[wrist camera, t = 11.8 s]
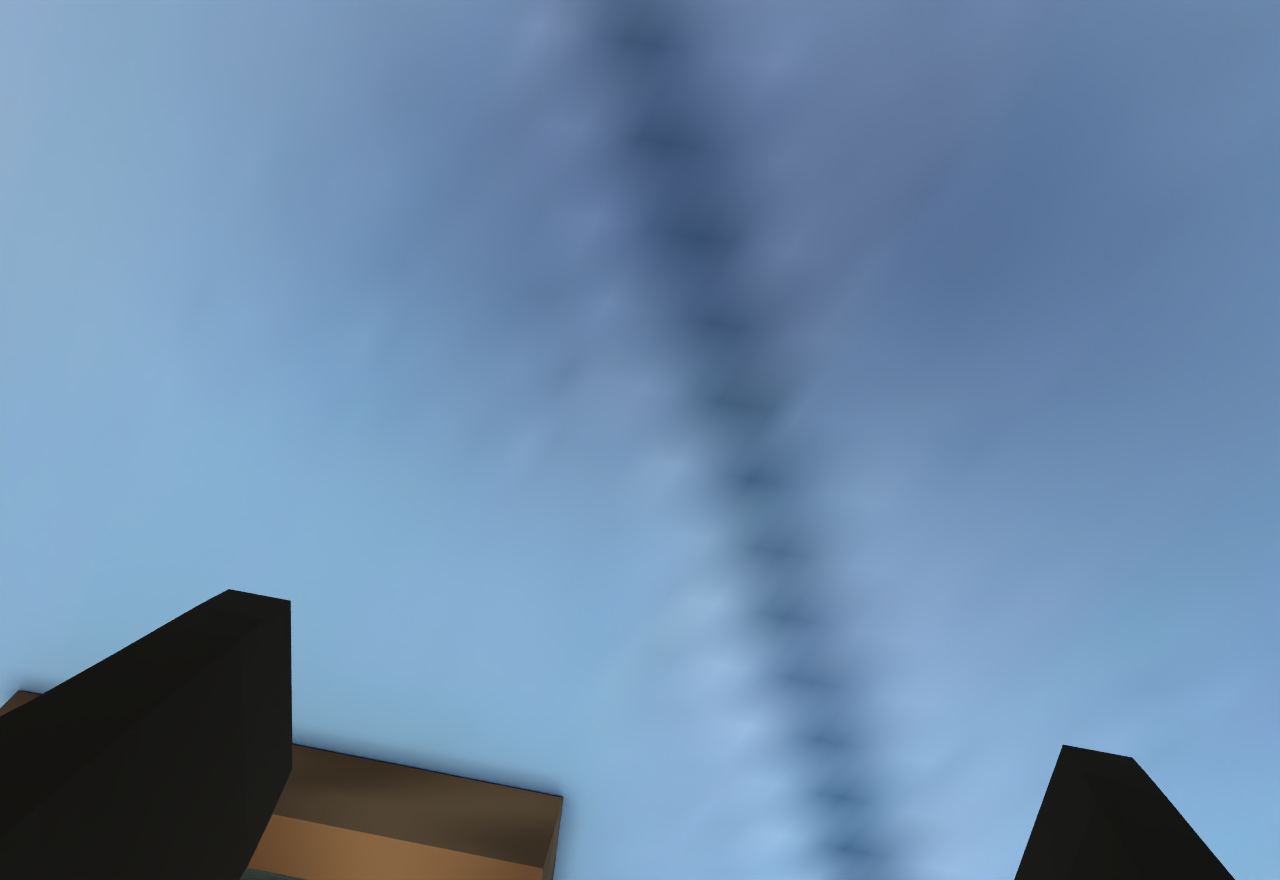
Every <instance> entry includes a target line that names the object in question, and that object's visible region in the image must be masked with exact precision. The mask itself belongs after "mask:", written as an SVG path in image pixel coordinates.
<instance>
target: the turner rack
mask: <svg viewBox="0 0 1280 880" xmlns="http://www.w3.org/2000/svg"><path fill="white" fill-rule="evenodd" d="M38 696H40V695H38V694H33V693H28V692H23V691H17V692H16V693H15V694H14V695H13V696H12V697H11V698H10V699H9V700H8V701H7V702H6V703H5V704H4V705H3V706H2V707H1V708H0V716H2V715H4V714H6V713H7V712H9V711H11V710H13V709H15V708H17V707H19V706H21V705H23V704H25V703H27V702H29V701H31V700H33V699H35V698H36V697H38ZM562 803H563V798H562V797H557V796H552V795H547V794H541V793H536V792H531V791H526V790H521V789H516V788H511V787H506V786H501V785H496V784H491V783H486V782H480V781H475V780H470V779H465V778H460V777H455V776H450V775H445V774H440V773H435V772H430V771H424V770H419V769H414V768H409V767H404V766H399V765H394V764H389V763H384V762H379V761H374V760H369V759H363V758H358V757H353V756H348V755H343V754H338V753H333V752H328V751H323V750H318V749H313V748H308V747H302V746H297V745H292V771H291V773H290V775H289V778H288V780H287V782H286V784H285V787H284V789H283V791H282V793H281V796H280V798H279V800H278V802H277V805H276V807H275V809H274V811H273V814H272V816H271V818H270V820H269V823H268V825H267V827H266V829H265V831H264V833H263V835H262V837H261V840H260V842H259V844H258V846H257V848H256V850H255V852H254V854H253V856H252V858H251V861H250V863H249V865H248V866H247V867H248V868H253V869H258V870H263V871H268V872H273V873H278V874H283V875H287V876H292V877H297V878H302V879H307V880H553V874H554V866H555V858H556V851H557V843H558V835H559V827H560V819H561V811H562Z"/></svg>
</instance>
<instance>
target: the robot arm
mask: <svg viewBox="0 0 1280 880" xmlns="http://www.w3.org/2000/svg"><path fill="white" fill-rule="evenodd" d="M291 771H292V686H291V601H289V600H284V599H279V598H273V597H268V596H263V595H257V594H252V593H246V592H241V591H236V590H230V589H228V590H227V591H225V592H223V593H221V594H219V595H217V596H215V597H213V598H211V599H209V600H207V601H206V602H204V603H202V604H200V605H198V606H196V607H195V608H193V609H191V610H189V611H188V612H186V613H184V614H182V615H181V616H179V617H177V618H175V619H174V620H172V621H170V622H168V623H167V624H165V625H163V626H162V627H160V628H158V629H156V630H155V631H153V632H151V633H149V634H148V635H146V636H144V637H143V638H141V639H139V640H137V641H136V642H134V643H132V644H130V645H129V646H127V647H125V648H124V649H122V650H120V651H118V652H117V653H115V654H113V655H111V656H109V657H108V658H106V659H104V660H102V661H101V662H99V663H97V664H95V665H93V666H92V667H90V668H88V669H86V670H85V671H83V672H81V673H79V674H77V675H76V676H74V677H72V678H70V679H69V680H67V681H65V682H63V683H61V684H60V685H58V686H56V687H54V688H53V689H51V690H49V691H47V692H45V693H44V694H42V695H40V696H38V697H36V698H35V699H33V700H31V701H29V702H27V703H25V704H23V705H21V706H19V707H17V708H15V709H13V710H11V711H9V712H7V713H6V714H4V715H2V716H0V880H240V878H241V876H242V875H243V873H244V871H245V870H246V868H247V866H248V865H249V863H250V861H251V858H252V856H253V854H254V852H255V850H256V848H257V846H258V844H259V842H260V840H261V837H262V835H263V833H264V831H265V829H266V827H267V825H268V823H269V820H270V818H271V816H272V814H273V811H274V809H275V807H276V805H277V802H278V800H279V798H280V796H281V793H282V791H283V789H284V787H285V784H286V782H287V780H288V778H289V775H290V773H291ZM1014 880H1235V879H1234V878H1233V877H1232V875H1231V874H1230V873H1229V872H1228V871H1227V869H1226V868H1225V867H1224V866H1223V865H1222V863H1221V862H1220V861H1219V860H1218V859H1217V857H1216V856H1215V855H1214V854H1213V853H1212V851H1211V850H1210V849H1209V848H1208V847H1207V845H1206V844H1205V843H1204V842H1203V841H1202V839H1201V838H1200V837H1199V836H1198V835H1197V833H1196V832H1195V831H1194V830H1193V829H1192V827H1191V826H1190V825H1189V824H1188V823H1187V821H1186V820H1185V819H1184V818H1183V816H1182V815H1181V814H1180V813H1179V812H1178V810H1177V809H1176V808H1175V807H1174V806H1173V804H1172V803H1171V802H1170V801H1169V800H1168V798H1167V797H1166V796H1165V795H1164V794H1163V792H1162V791H1161V790H1160V789H1159V788H1158V786H1157V785H1156V784H1155V783H1154V782H1153V781H1152V779H1151V778H1150V777H1149V776H1148V775H1147V774H1146V772H1145V771H1144V770H1143V769H1142V768H1141V767H1140V766H1139V765H1138V763H1137V762H1136V761H1135V760H1134V759H1133V758H1132V757H1127V756H1121V755H1116V754H1110V753H1105V752H1100V751H1094V750H1089V749H1084V748H1078V747H1073V746H1068V745H1063V746H1062V749H1061V752H1060V754H1059V757H1058V760H1057V763H1056V766H1055V768H1054V771H1053V774H1052V777H1051V779H1050V782H1049V785H1048V788H1047V790H1046V793H1045V796H1044V799H1043V802H1042V804H1041V807H1040V810H1039V813H1038V815H1037V818H1036V821H1035V824H1034V827H1033V829H1032V832H1031V835H1030V838H1029V840H1028V843H1027V846H1026V849H1025V851H1024V854H1023V857H1022V860H1021V863H1020V865H1019V868H1018V871H1017V874H1016V876H1015V879H1014Z"/></svg>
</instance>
